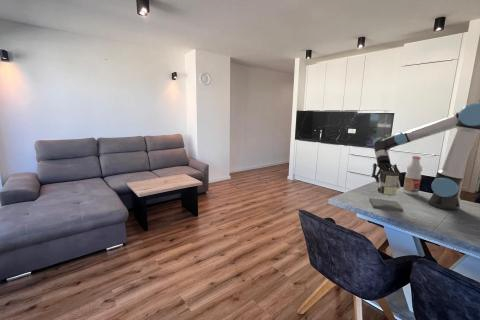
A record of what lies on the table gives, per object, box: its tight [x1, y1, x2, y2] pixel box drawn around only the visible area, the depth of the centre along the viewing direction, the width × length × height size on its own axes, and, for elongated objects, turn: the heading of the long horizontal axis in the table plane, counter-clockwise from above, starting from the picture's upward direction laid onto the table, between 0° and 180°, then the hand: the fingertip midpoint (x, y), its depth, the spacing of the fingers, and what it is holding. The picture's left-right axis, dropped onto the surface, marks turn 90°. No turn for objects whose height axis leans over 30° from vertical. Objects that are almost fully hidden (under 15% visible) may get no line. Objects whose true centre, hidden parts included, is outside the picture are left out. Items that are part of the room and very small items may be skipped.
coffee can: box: [376, 170, 399, 197], centre depth 147 cm, size 10×10×14 cm
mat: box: [369, 197, 404, 212], centre depth 150 cm, size 16×14×2 cm
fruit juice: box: [402, 155, 423, 196], centre depth 173 cm, size 9×9×28 cm
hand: (389, 187), depth 145 cm, fingers closed on coffee can, 10 cm apart
